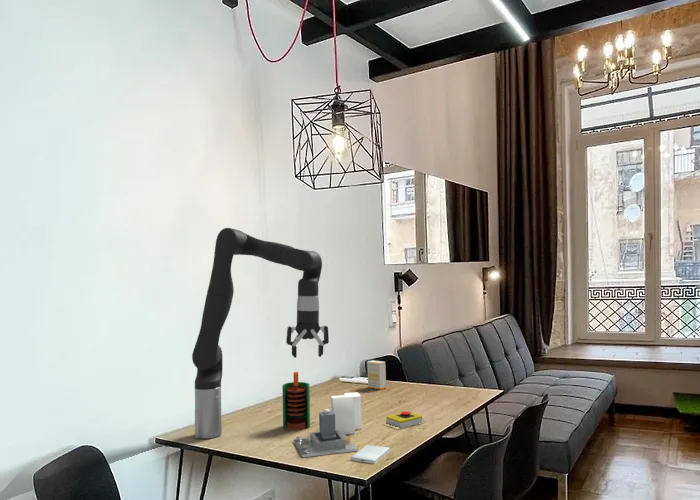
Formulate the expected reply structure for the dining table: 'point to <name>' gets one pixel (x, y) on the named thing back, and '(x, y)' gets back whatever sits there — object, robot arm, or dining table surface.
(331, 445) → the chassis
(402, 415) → the emergency button
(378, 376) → the supplement box
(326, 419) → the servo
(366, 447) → the hard drive
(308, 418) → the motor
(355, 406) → the corner bracket
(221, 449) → the dining table surface
